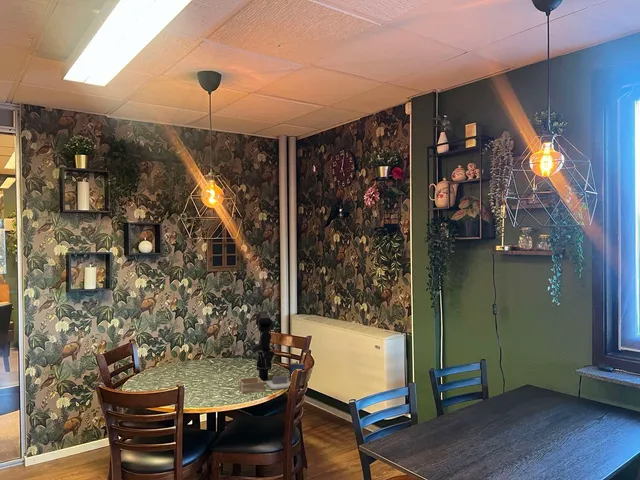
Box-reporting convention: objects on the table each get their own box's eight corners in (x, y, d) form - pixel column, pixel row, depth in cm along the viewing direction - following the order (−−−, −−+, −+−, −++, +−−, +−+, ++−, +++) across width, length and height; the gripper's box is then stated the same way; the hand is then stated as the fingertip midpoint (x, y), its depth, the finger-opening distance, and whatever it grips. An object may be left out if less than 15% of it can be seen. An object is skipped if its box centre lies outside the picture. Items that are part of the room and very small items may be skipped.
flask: (304, 377, 296) (304, 360, 296) (304, 378, 293) (304, 361, 293) (289, 377, 296) (289, 360, 296) (289, 378, 293) (289, 361, 293)
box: (238, 387, 274) (238, 379, 275) (258, 385, 279) (258, 376, 279) (243, 393, 263) (243, 384, 263) (264, 391, 268) (264, 382, 268)
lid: (265, 384, 281) (265, 375, 281) (286, 381, 286) (286, 372, 286) (271, 390, 269) (271, 380, 269) (293, 387, 274) (293, 378, 274)
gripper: (247, 337, 283) (247, 363, 283) (255, 343, 266) (255, 371, 266) (265, 335, 287) (265, 361, 287) (274, 341, 270) (274, 369, 270)
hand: (265, 365), depth 277 cm, fingers open, 9 cm apart
